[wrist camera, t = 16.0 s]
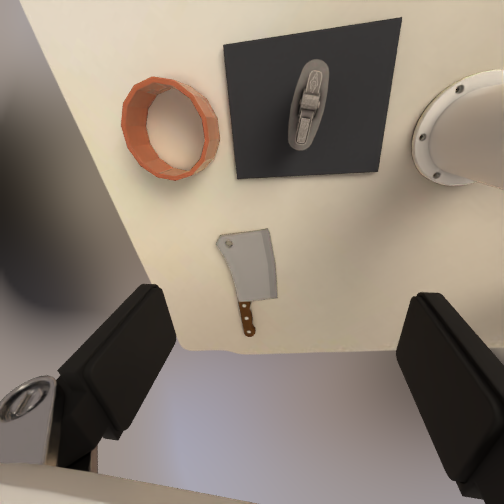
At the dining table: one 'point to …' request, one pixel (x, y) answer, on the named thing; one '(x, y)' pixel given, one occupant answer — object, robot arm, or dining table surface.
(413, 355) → the robot arm
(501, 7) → the dining table surface
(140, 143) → the orange hollow ring
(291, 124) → the lighter
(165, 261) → the dining table surface
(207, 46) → the dining table surface
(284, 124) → the mat
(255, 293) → the kitchen cleaver
